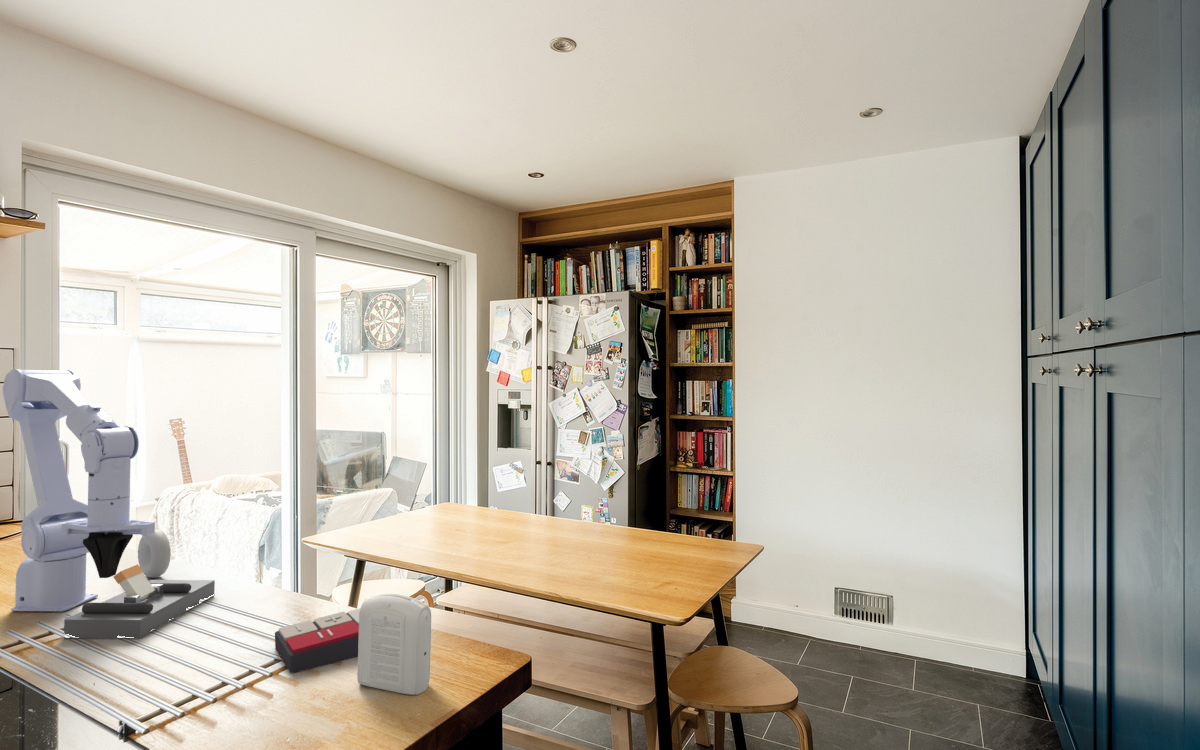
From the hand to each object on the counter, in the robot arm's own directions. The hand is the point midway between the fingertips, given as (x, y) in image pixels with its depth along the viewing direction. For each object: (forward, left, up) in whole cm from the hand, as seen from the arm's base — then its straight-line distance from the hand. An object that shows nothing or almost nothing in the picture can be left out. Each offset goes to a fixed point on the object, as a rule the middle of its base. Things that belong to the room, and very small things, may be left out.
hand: (107, 576), depth 108 cm
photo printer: (+56, -23, -8) cm, 61 cm away
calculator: (+43, -11, -8) cm, 45 cm away
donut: (-8, +23, -8) cm, 25 cm away
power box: (+5, +2, -7) cm, 9 cm away
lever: (+6, 0, -3) cm, 7 cm away
